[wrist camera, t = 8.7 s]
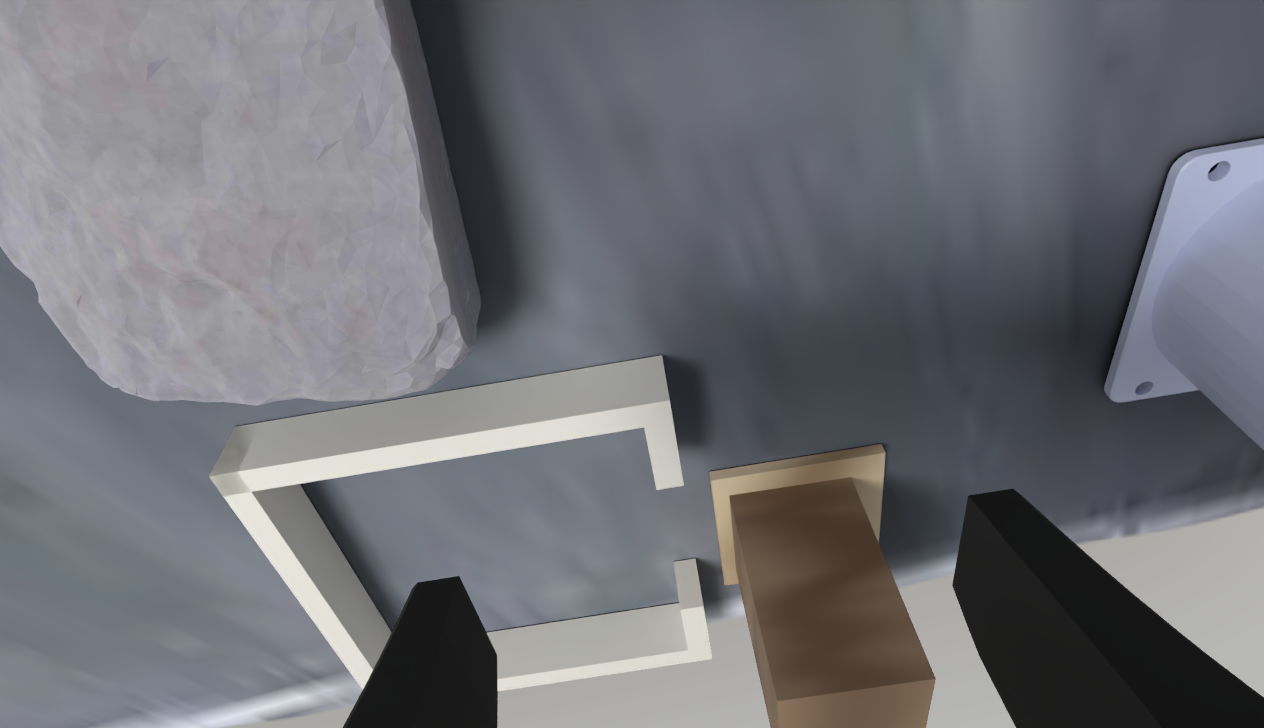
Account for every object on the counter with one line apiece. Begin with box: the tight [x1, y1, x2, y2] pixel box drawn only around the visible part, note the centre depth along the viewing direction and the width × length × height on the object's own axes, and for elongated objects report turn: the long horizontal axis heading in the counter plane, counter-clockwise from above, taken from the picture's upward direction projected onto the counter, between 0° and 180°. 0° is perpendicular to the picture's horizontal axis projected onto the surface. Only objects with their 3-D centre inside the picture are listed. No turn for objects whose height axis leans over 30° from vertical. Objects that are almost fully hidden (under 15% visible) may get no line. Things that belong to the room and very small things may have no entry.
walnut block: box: [729, 477, 935, 728], centre depth 23 cm, size 4×4×7 cm
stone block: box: [0, 0, 481, 406], centre depth 16 cm, size 12×5×10 cm
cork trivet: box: [709, 444, 886, 585], centre depth 26 cm, size 6×6×1 cm
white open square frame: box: [209, 355, 712, 691], centre depth 25 cm, size 13×13×2 cm
